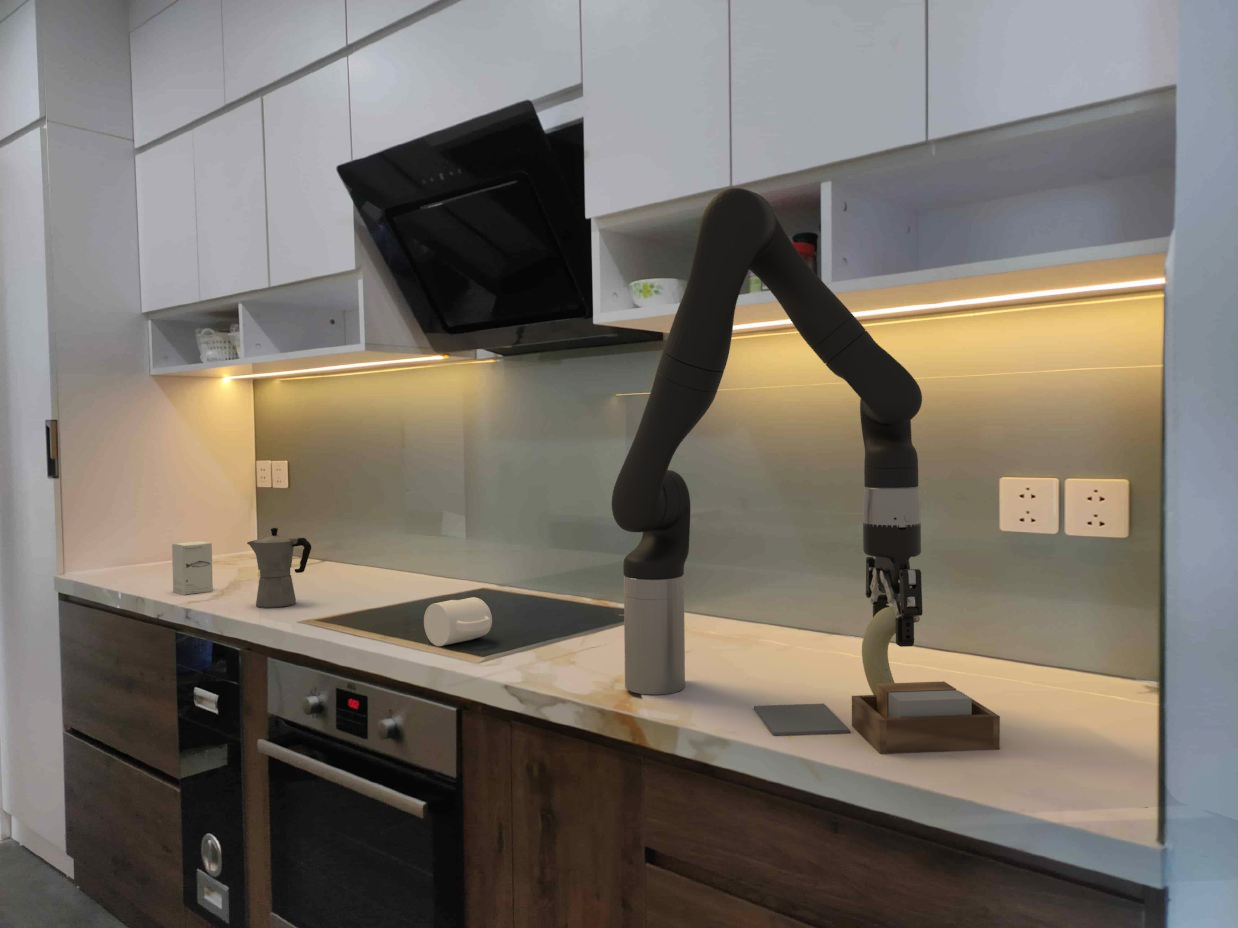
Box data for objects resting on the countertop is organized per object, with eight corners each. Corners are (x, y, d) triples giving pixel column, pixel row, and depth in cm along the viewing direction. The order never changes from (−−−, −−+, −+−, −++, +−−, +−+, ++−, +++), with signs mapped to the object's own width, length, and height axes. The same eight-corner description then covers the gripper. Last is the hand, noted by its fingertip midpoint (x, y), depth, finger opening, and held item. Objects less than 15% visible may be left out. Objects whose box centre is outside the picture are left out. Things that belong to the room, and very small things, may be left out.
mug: (421, 642, 164) (420, 600, 164) (461, 633, 171) (460, 593, 171) (461, 652, 156) (460, 608, 156) (501, 642, 163) (500, 600, 163)
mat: (753, 708, 122) (753, 705, 121) (823, 706, 122) (823, 703, 122) (773, 735, 111) (773, 732, 111) (850, 732, 111) (849, 729, 111)
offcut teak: (876, 729, 113) (876, 683, 113) (944, 726, 113) (944, 681, 113) (887, 738, 109) (887, 691, 109) (956, 736, 110) (956, 688, 110)
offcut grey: (888, 740, 109) (888, 692, 109) (958, 737, 109) (958, 690, 109) (899, 749, 105) (899, 700, 105) (971, 747, 106) (971, 698, 106)
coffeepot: (238, 607, 200) (236, 530, 200) (259, 600, 210) (257, 525, 209) (303, 608, 199) (301, 529, 198) (320, 600, 208) (319, 525, 208)
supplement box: (183, 595, 217) (182, 545, 217) (172, 592, 222) (171, 543, 222) (213, 591, 222) (212, 542, 222) (202, 588, 228) (201, 540, 227)
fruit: (866, 684, 126) (850, 691, 124) (880, 591, 121) (864, 596, 119) (906, 710, 120) (890, 717, 118) (923, 613, 115) (906, 619, 113)
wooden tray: (851, 725, 114) (851, 695, 114) (961, 721, 115) (961, 691, 115) (880, 753, 104) (879, 720, 104) (999, 748, 105) (999, 716, 105)
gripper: (847, 516, 125) (848, 628, 126) (883, 525, 111) (885, 652, 111) (898, 515, 126) (899, 626, 126) (941, 524, 111) (942, 650, 112)
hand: (892, 638), depth 119 cm, fingers open, 8 cm apart
